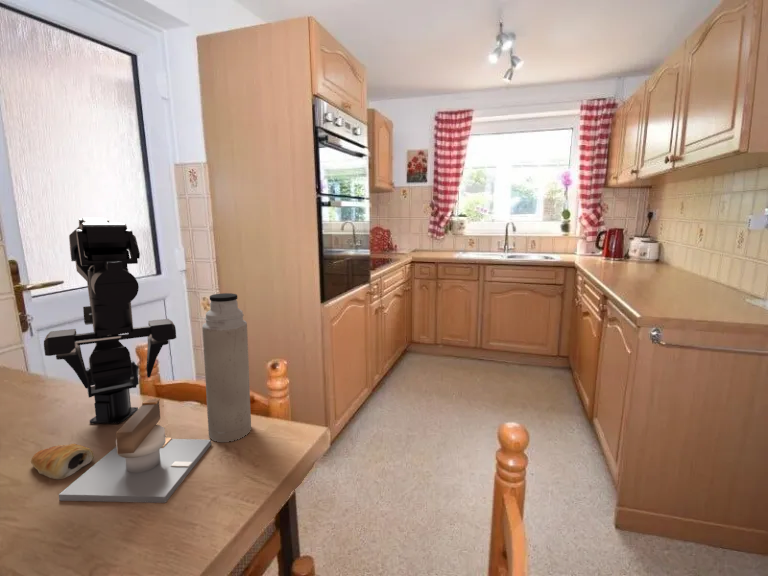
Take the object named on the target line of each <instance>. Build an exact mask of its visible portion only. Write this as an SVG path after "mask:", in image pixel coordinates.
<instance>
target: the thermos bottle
mask: <svg viewBox="0 0 768 576" xmlns="http://www.w3.org/2000/svg"><path fill="white" fill-rule="evenodd" d="M209 300H210V303H209V306H210V310H208V311H207V312H205V318H204V320H205V322H204V323H203V324H202V328H201V329H202V342H203V346H202V347H203V357H204V358H203V360H204V361H203V362H204V378H205V380H204V381H205V392H206V411H207V426H208V427H207V428H208V430H207V431H208V438H209V439H210V438H211V439H212V440H211V439H210V440H211V441H214V442H216V441H217V442H218V443H230V442H229V441H231V442H234V440H235V441H238V440H241V439H243V438H245V437H246V436H247V434H248V433H249V432H250V433H251V431H252V415H251V413H252V412H251V393H250V392H251V391H250V390H251V389H250V387H251V386H250V368H249V367H250V366H249V364H250V363H249V339H248V337H249V335H248V322H247V321H246V320H244V316H245V315H244V312H243V310H242V309H240V308H239V307H238V306H239V305H238V301H237V300H238V294H236V293H229V292H228V293H227V292H223V293H215V294H214V293H213V294H211V295H210V296H209ZM250 430H251V431H250ZM250 433H249V434H250ZM245 435H246V436H245ZM244 436H245V437H244ZM242 437H243V438H242ZM240 438H241V439H240ZM237 439H238V440H237Z"/></svg>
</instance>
